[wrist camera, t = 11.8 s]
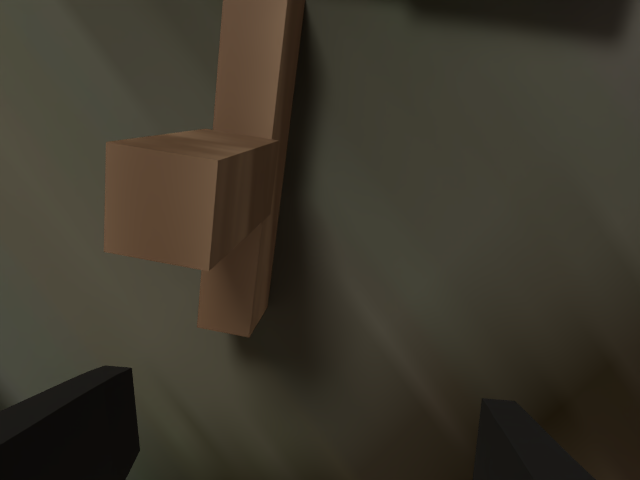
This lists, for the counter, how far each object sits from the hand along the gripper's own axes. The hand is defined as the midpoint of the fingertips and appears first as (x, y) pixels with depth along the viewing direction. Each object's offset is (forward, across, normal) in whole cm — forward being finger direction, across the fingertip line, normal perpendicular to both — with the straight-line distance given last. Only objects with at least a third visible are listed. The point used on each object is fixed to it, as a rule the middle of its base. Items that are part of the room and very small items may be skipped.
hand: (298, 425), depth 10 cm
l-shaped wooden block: (+10, +3, -4) cm, 12 cm away
